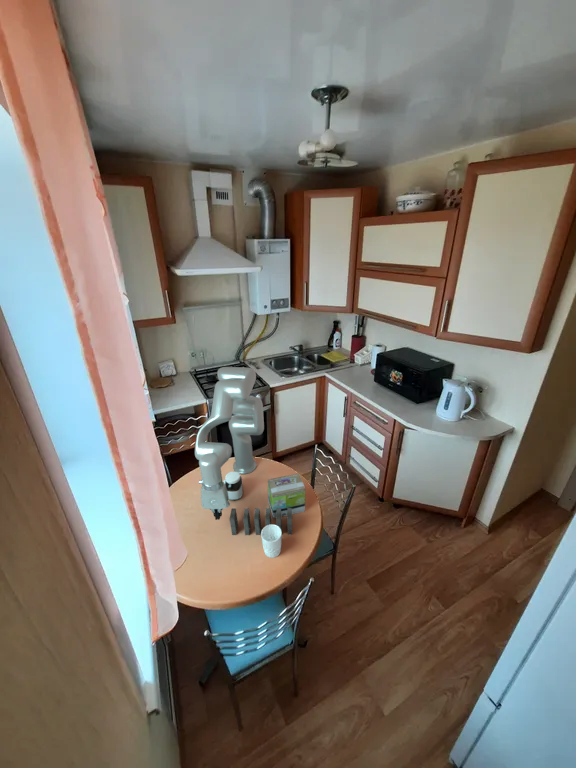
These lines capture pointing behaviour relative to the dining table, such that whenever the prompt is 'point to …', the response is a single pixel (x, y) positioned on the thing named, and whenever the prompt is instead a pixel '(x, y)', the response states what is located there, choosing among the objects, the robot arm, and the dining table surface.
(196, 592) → the dining table surface
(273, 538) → the white cup
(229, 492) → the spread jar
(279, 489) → the tea box
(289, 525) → the tile
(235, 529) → the tile
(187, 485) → the dining table surface
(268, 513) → the tile
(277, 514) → the tile
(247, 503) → the dining table surface
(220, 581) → the dining table surface
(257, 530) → the tile
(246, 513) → the tile
